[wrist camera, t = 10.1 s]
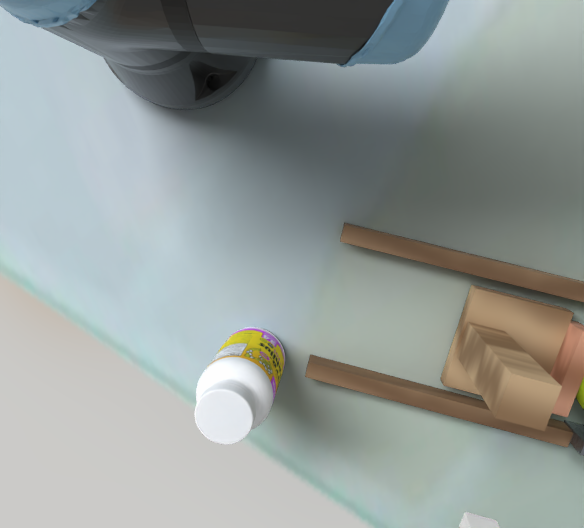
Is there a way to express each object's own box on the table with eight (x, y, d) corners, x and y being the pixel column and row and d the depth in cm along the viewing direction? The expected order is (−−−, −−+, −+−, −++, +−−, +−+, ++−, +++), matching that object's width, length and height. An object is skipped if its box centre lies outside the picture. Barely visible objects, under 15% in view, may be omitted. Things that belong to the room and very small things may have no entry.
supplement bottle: (294, 376, 48) (276, 448, 35) (235, 390, 49) (197, 464, 37) (275, 317, 47) (250, 369, 34) (215, 332, 48) (170, 388, 36)
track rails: (344, 222, 44) (344, 224, 42) (616, 289, 43) (629, 295, 41) (306, 368, 48) (305, 376, 46) (558, 435, 46) (567, 447, 44)
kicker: (471, 284, 44) (523, 329, 31) (582, 312, 43) (681, 369, 31) (440, 378, 46) (477, 456, 33) (545, 406, 45) (623, 496, 33)
